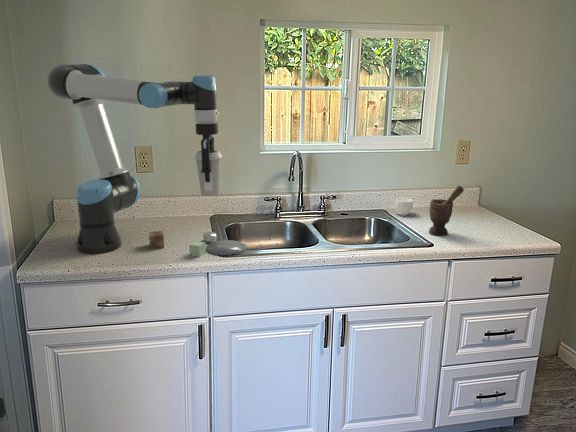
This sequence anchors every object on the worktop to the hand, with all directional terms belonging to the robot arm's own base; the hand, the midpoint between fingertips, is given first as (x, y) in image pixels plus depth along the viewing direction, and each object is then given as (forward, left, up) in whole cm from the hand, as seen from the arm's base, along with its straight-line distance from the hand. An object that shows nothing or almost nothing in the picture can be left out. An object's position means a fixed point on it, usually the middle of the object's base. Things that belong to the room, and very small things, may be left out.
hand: (210, 188), depth 186 cm
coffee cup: (0, 0, -2) cm, 2 cm away
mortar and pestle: (+89, +19, -23) cm, 94 cm away
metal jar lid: (-2, +7, -22) cm, 24 cm away
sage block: (-4, -7, -22) cm, 24 cm away
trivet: (+5, -1, -22) cm, 23 cm away
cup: (+79, +47, -23) cm, 95 cm away
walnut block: (-20, +1, -22) cm, 30 cm away
